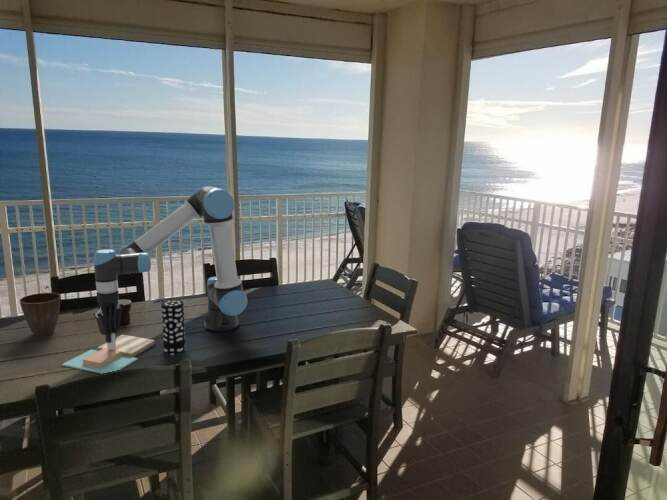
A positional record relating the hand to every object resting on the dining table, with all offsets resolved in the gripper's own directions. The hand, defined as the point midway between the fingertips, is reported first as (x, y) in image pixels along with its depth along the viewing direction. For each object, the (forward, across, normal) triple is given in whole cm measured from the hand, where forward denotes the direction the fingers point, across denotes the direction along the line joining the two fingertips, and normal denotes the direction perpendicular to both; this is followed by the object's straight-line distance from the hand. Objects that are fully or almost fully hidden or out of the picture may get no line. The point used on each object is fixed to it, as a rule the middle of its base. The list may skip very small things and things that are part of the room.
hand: (111, 349), depth 185 cm
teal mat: (+3, +6, 0) cm, 7 cm away
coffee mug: (+3, -31, -21) cm, 38 cm away
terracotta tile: (+2, +5, 0) cm, 6 cm away
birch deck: (+3, -8, 0) cm, 9 cm away
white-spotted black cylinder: (+3, -13, +19) cm, 23 cm away
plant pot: (+3, -8, -43) cm, 44 cm away
